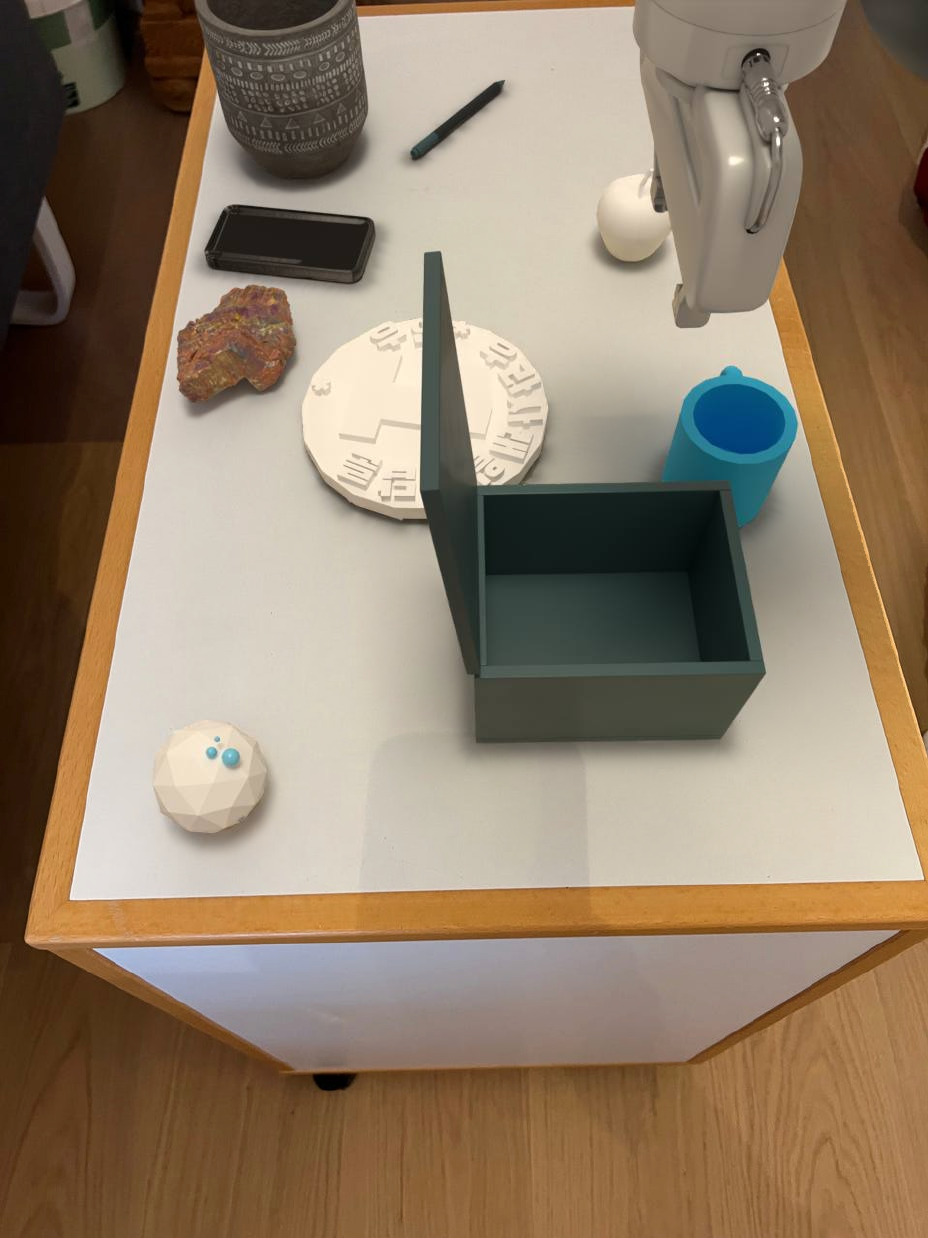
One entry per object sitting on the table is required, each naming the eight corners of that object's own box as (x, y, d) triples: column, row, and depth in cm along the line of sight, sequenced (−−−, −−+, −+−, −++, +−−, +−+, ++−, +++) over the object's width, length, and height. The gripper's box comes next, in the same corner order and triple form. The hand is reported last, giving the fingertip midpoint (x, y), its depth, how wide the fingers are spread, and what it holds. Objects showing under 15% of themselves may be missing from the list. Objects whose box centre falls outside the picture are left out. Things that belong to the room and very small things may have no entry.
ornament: (188, 863, 56) (145, 831, 49) (163, 764, 59) (118, 721, 52) (289, 822, 57) (262, 785, 50) (259, 727, 60) (229, 680, 53)
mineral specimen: (285, 410, 71) (223, 356, 66) (220, 437, 75) (157, 388, 70) (311, 304, 76) (256, 247, 72) (249, 335, 80) (193, 282, 76)
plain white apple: (669, 275, 80) (687, 197, 73) (592, 272, 80) (602, 194, 73) (667, 224, 83) (684, 144, 76) (592, 222, 84) (602, 142, 76)
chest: (694, 567, 65) (729, 479, 56) (720, 739, 59) (766, 673, 49) (473, 571, 65) (470, 484, 56) (475, 743, 59) (473, 678, 49)
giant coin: (394, 308, 79) (391, 282, 76) (588, 393, 73) (591, 368, 71) (258, 460, 71) (249, 436, 68) (463, 566, 66) (462, 545, 63)
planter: (212, 179, 88) (164, 20, 75) (270, 98, 94) (235, -62, 81) (342, 206, 85) (316, 46, 72) (393, 121, 92) (377, -40, 78)
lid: (441, 249, 40) (423, 251, 40) (439, 489, 34) (419, 491, 34) (477, 480, 55) (464, 481, 55) (480, 674, 49) (466, 675, 49)
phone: (225, 202, 84) (376, 217, 83) (229, 213, 85) (378, 227, 84) (200, 258, 80) (357, 274, 79) (204, 268, 81) (359, 284, 80)
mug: (765, 536, 66) (799, 470, 59) (657, 524, 67) (678, 457, 60) (763, 416, 72) (794, 342, 65) (664, 406, 73) (684, 331, 65)
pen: (508, 87, 94) (508, 76, 93) (417, 161, 88) (416, 150, 87) (500, 84, 94) (501, 73, 93) (409, 157, 89) (408, 146, 88)
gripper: (872, 139, 33) (765, 395, 45) (769, -123, 42) (703, 147, 54) (704, 145, 33) (643, 399, 45) (639, -119, 42) (603, 150, 54)
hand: (676, 259), depth 50 cm, fingers open, 8 cm apart
